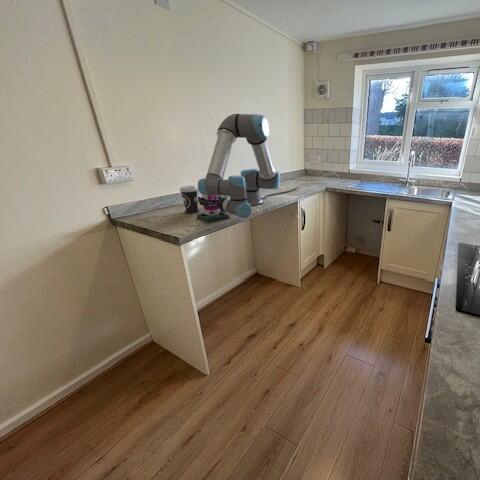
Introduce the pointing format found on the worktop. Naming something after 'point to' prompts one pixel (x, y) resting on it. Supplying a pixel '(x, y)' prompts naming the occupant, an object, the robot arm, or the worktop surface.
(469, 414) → the worktop surface
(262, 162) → the robot arm
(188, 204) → the coffee cup
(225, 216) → the base pad
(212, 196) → the supplement can
